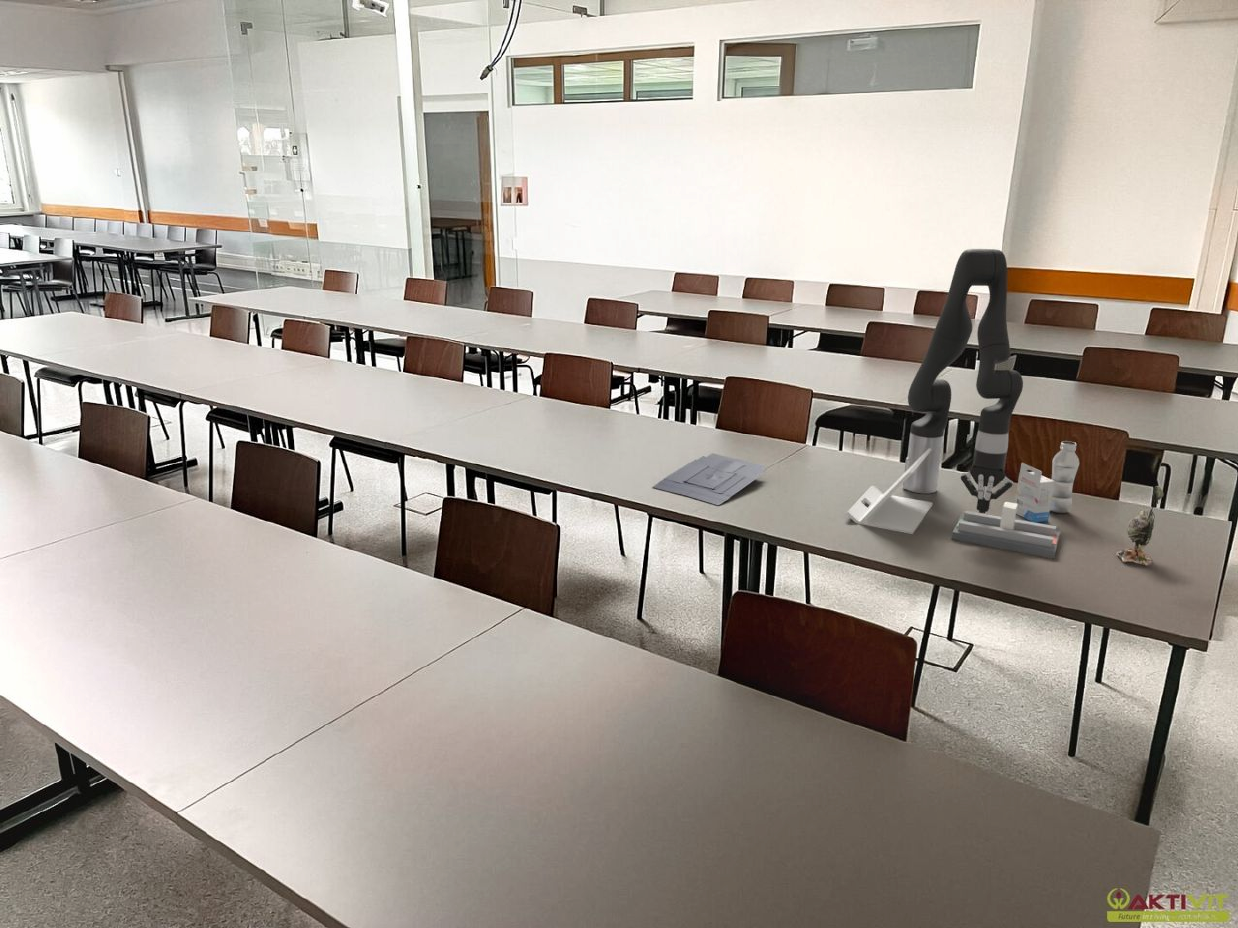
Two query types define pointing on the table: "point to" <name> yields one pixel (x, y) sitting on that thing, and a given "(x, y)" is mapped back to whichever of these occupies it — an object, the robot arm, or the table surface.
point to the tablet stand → (891, 507)
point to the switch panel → (1005, 542)
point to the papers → (712, 478)
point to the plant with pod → (1141, 533)
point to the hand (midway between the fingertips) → (982, 512)
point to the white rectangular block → (1008, 515)
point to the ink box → (1033, 494)
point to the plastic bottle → (1064, 477)
